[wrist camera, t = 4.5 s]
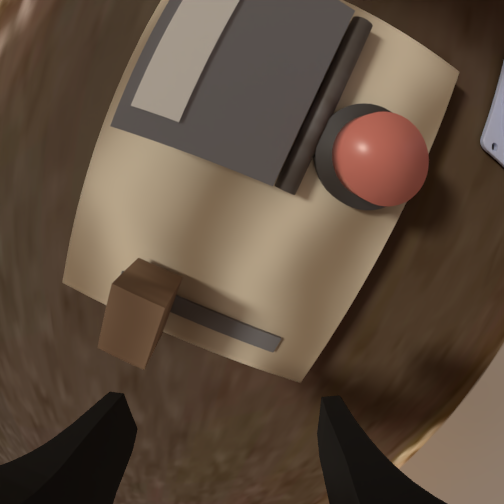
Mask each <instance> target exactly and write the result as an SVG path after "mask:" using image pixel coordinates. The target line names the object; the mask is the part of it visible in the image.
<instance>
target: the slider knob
mask: <svg viewBox="0 0 504 504" xmlns="http://www.w3.org/2000/svg"><path fill="white" fill-rule="evenodd" d="M182 279H183V277H181V276H179V275H177V274H174V273H172V272H170V271H167V270H165V269H163V268H161V267H158V266H156V265H154V264H152V263H149V262H147V261H145V260H143V259H141V258H138V259H137V260H135V261H134V262H133V263H132V264H131V265H130V266H129V267H128V268H127V269H126V270H125V271H124V272H123V273H122V274H121V275H120V276H119V277H118V278H117V279H116V280H115V281H114V282H113V283H112V285H111V289H110V293H109V297H108V301H107V305H106V310H105V314H104V319H103V323H102V328H101V333H100V338H99V343H98V348H99V349H101V350H103V351H105V352H107V353H109V354H111V355H113V356H115V357H117V358H119V359H121V360H123V361H126V362H128V363H130V364H132V365H134V366H136V367H139V368H141V369H143V370H144V369H145V367H146V365H147V363H148V361H149V359H150V357H151V355H152V353H153V351H154V349H155V347H156V345H157V343H158V341H159V339H160V337H161V335H162V333H163V330H164V327H165V325H166V322H167V319H168V316H169V313H170V311H171V308H172V305H173V303H174V300H175V297H176V294H177V292H178V289H179V286H180V284H181V281H182Z"/></svg>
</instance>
